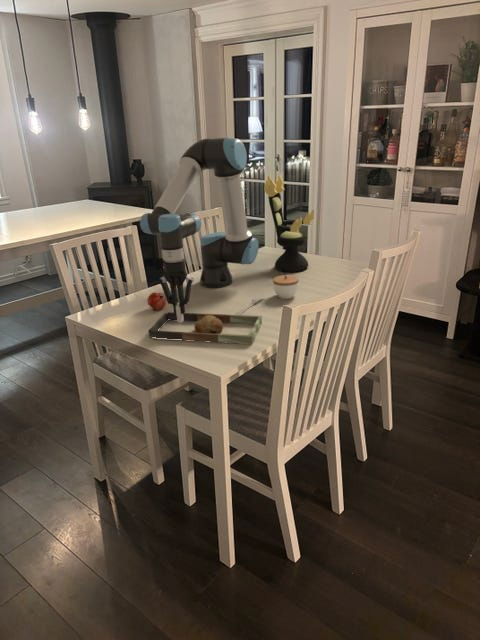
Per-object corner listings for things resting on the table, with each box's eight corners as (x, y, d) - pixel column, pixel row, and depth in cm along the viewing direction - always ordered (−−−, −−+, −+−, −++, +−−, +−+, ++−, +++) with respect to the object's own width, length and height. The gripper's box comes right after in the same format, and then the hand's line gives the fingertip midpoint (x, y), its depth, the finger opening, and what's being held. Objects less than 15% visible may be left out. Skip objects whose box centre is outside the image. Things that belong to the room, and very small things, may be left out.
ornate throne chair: (302, 275, 229) (302, 177, 211) (259, 271, 238) (255, 177, 220) (314, 264, 244) (314, 172, 226) (273, 260, 253) (271, 172, 235)
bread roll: (200, 346, 173) (202, 331, 167) (189, 326, 179) (191, 311, 173) (225, 339, 177) (228, 325, 171) (213, 320, 183) (216, 305, 177)
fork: (233, 320, 190) (233, 314, 189) (260, 298, 205) (260, 292, 203) (239, 322, 189) (238, 316, 187) (266, 299, 203) (266, 293, 202)
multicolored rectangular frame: (166, 319, 188) (165, 312, 187) (261, 323, 180) (261, 315, 178) (148, 339, 172) (147, 331, 171) (252, 344, 164) (251, 336, 162)
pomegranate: (146, 316, 198) (157, 306, 191) (140, 300, 199) (150, 290, 192) (161, 312, 203) (172, 302, 196) (155, 297, 204) (165, 286, 197)
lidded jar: (297, 301, 198) (297, 279, 195) (271, 300, 201) (271, 279, 197) (299, 292, 208) (299, 271, 204) (275, 291, 210) (274, 271, 206)
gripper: (152, 262, 166) (160, 324, 175) (187, 263, 163) (194, 326, 172) (160, 256, 172) (167, 316, 182) (194, 256, 169) (200, 318, 179)
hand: (180, 321), depth 177 cm, fingers closed
